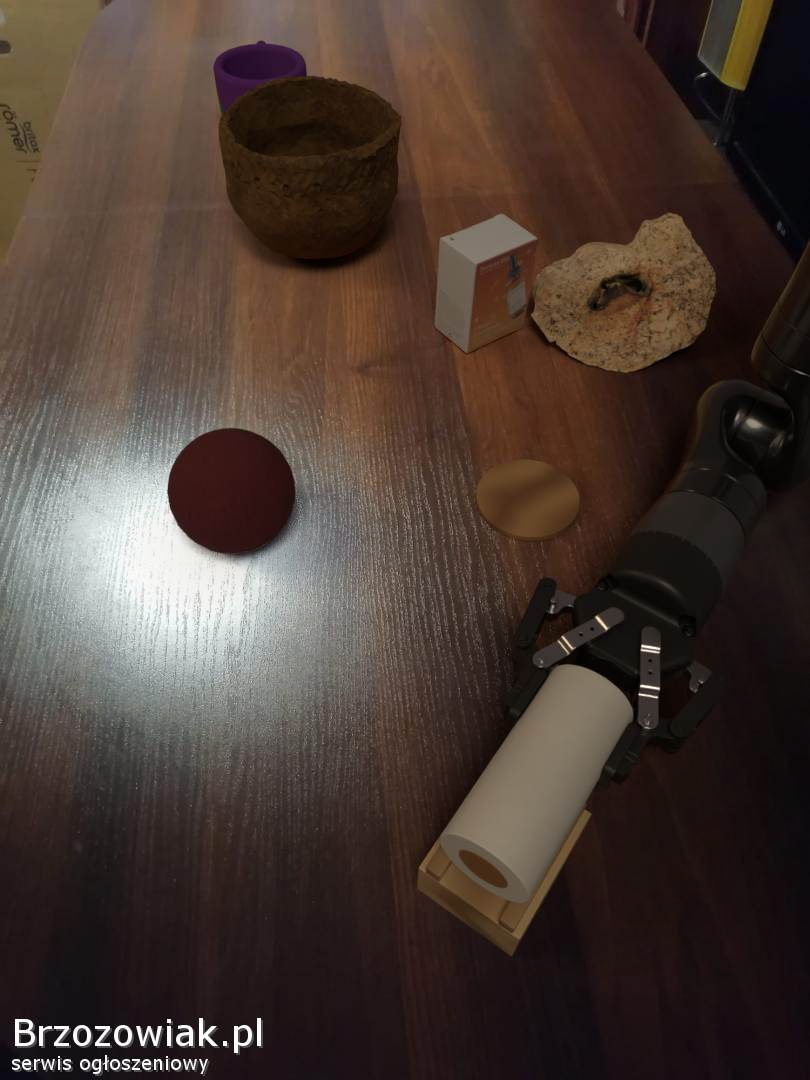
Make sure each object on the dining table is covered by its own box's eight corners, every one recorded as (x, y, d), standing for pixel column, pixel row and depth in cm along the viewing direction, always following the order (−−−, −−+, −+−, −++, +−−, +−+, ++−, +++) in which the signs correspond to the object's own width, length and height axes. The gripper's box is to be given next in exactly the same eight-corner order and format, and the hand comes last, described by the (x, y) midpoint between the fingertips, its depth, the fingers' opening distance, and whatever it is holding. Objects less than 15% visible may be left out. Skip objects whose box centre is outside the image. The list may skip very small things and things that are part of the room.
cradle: (580, 836, 57) (595, 807, 53) (511, 956, 52) (521, 935, 48) (490, 777, 59) (497, 746, 55) (416, 888, 55) (418, 862, 51)
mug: (312, 162, 110) (307, 81, 102) (222, 165, 109) (210, 83, 102) (309, 99, 121) (303, 21, 113) (227, 101, 120) (216, 23, 112)
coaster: (596, 492, 76) (598, 487, 75) (547, 558, 71) (548, 553, 71) (508, 449, 79) (509, 444, 78) (455, 510, 74) (456, 505, 74)
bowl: (400, 295, 93) (402, 162, 81) (226, 293, 93) (203, 159, 81) (399, 201, 105) (401, 73, 93) (245, 199, 104) (227, 70, 93)
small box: (466, 356, 87) (474, 265, 79) (432, 327, 90) (437, 236, 81) (526, 327, 90) (540, 237, 82) (491, 300, 93) (502, 210, 84)
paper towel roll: (623, 741, 56) (643, 697, 51) (522, 916, 49) (535, 884, 44) (544, 695, 58) (557, 649, 53) (436, 856, 51) (440, 820, 46)
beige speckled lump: (590, 423, 90) (591, 392, 83) (517, 322, 95) (512, 285, 88) (738, 332, 90) (752, 293, 82) (657, 235, 94) (664, 190, 87)
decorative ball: (304, 487, 76) (295, 402, 68) (295, 579, 69) (284, 497, 62) (190, 485, 75) (167, 400, 68) (171, 578, 69) (143, 496, 61)
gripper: (589, 489, 60) (460, 659, 51) (790, 586, 55) (684, 793, 46) (571, 554, 66) (453, 718, 57) (751, 647, 61) (651, 842, 52)
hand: (557, 750), depth 52 cm, fingers closed on paper towel roll, 5 cm apart
